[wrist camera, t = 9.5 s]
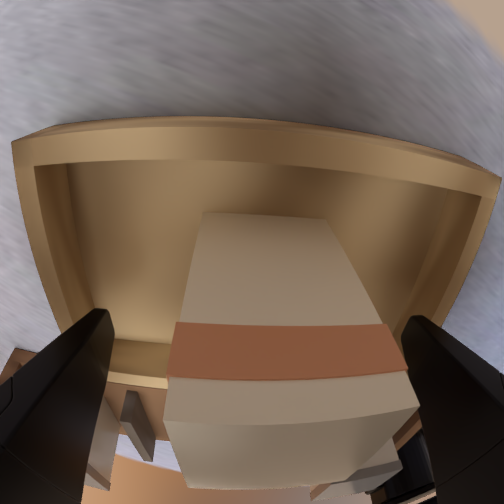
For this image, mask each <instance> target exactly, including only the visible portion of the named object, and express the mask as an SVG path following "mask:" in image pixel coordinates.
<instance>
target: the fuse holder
mask: <svg viewBox="0 0 504 504" xmlns="http://www.w3.org/2000/svg"><path fill="white" fill-rule="evenodd" d="M36 354H37V353H33V352H29V351H25V350H21V349H17V348H15V349H14V350H13V352H12V354H11V356H10V358H9V360H8V361H7V363H6V365H5V367H4V369H3V371H2V373H1V375H0V385H1V384H2V383H3V382H4V381H6V380H7V379H8V378H9V377H10V376H12V375H13V374H14V373H15V372H16V371H17V370H19V369H20V368H21V367H22V366H23V365H24V364H26V363H27V362H28V361H29V360H30V359H32V358H33V357H34V356H35V355H36ZM166 396H167V389H162V388H152V387H144V386H136V385H128V384H121V383H115V382H109V381H107V383H106V387H105V391H104V397H105V399H106V401H107V403H108V405H109V407H110V408H111V410H112V412H113V414H114V416H115V417H116V419H117V421H118V423H119V424H120V431H119V434H123V435H128V437H129V438H130V440H131V441H132V443H133V445H134V446H135V448H136V449H137V451H138V453H139V454H140V456H141V457H142V459H143V460H144V461H149V462H153V455H154V448H155V440H164V441H170V439H169V437H168V434H167V431H166V428H165V425H164V422H163V416H164V409H165V402H166ZM421 427H422V425H421V421H420V417H419V413H418V410H416V411H415V412H414V414H413V415H412V416H411V417H410V418H409V419H408V420H407V421H406V423H405V424H404V425H403V426H402V427H401V428H400V429H399V430H398V431H397V432H396V433H395V434H394V435H393V436H392V439H393V442H394V445H395V448H396V451H397V450H399V449H400V448H401V447H402V446H403V445H404V444H405V443H406V442H407V441H408V440H409V439H410V438H411V437H412V436H413V435H414V434H415V433H416V432H417V431H418V430H419V429H420V428H421Z"/></svg>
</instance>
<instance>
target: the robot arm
mask: <svg viewBox="0 0 504 504" xmlns="http://www.w3.org/2000/svg"><path fill="white" fill-rule="evenodd" d="M114 338H115V330H114V326H113V323H112V319H111V316H110V313H109V311H108V310H107V309H103V308H94V309H92V310H91V311H90V312H89V313H87V314H86V315H85V316H83V317H82V318H81V319H80V320H78V321H77V322H76V323H75V324H73V325H72V326H71V327H69V328H68V329H67V330H66V331H64V332H63V333H62V334H61V335H60V336H58V337H57V338H56V339H55V340H53V341H52V342H51V343H50V344H48V345H47V346H46V347H45V348H44V349H42V350H41V351H40V352H39V353H38V354H36V355H35V356H34V357H33V358H32V359H30V360H29V361H28V362H27V363H26V364H24V365H23V366H22V367H21V368H20V369H19V370H17V371H16V372H15V373H14V374H13V375H12V376H10V377H9V378H8V379H7V380H6V381H4V382H3V383H2V384H1V385H0V504H81V500H82V493H83V486H84V481H85V475H86V470H87V465H88V459H89V454H90V450H91V445H92V440H93V436H94V431H95V427H96V423H97V418H98V414H99V410H100V406H101V402H102V398H103V395H104V391H105V387H106V383H107V378H108V372H109V366H110V360H111V354H112V348H113V343H114ZM401 344H402V349H403V353H404V358H405V362H406V364H407V367H408V370H407V373H408V377H409V380H410V383H411V385H412V387H413V390H414V392H415V394H416V397H417V399H418V401H419V404H420V407H419V408H418V409H417V410H418V413H419V417H420V421H421V425H422V427H421V428H420V429H419V430H418V431H417V432H416V433H415V434H414V435H413V436H412V437H411V438H410V439H409V440H408V441H407V442H406V443H405V444H404V445H403V446H402V447H401V448H400V449H399V450H397V451H396V452H397V455H398V458H399V460H401V463H402V467H403V469H402V470H400V471H399V472H398V473H396V474H395V475H394V476H392V477H391V478H390V479H388V480H387V481H385V482H384V483H382V484H381V485H380V486H378V487H377V488H375V489H374V490H370V491H366V492H365V493H366V494H367V495H369V494H370V495H371V500H372V504H408V503H410V502H413V501H415V500H418V499H420V498H422V497H425V496H427V495H429V494H431V493H433V492H436V496H434V497H432V498H430V499H427V500H425V501H423V502H420V503H418V504H504V375H503V374H502V373H499V371H498V370H497V369H495V368H494V367H493V366H492V365H490V364H489V363H488V362H486V361H485V360H484V359H482V358H481V357H480V356H478V355H477V354H476V353H474V352H473V351H472V350H470V349H469V348H468V347H466V346H465V345H464V344H462V343H461V342H459V341H458V340H457V339H455V338H454V337H453V336H451V335H450V334H449V333H447V332H446V331H444V330H443V329H442V328H440V327H439V326H437V325H436V324H435V323H433V322H432V321H430V320H429V319H428V318H426V317H425V316H423V315H412V316H411V317H410V318H409V319H408V321H407V323H406V325H405V327H404V329H403V331H402V333H401Z"/></svg>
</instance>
